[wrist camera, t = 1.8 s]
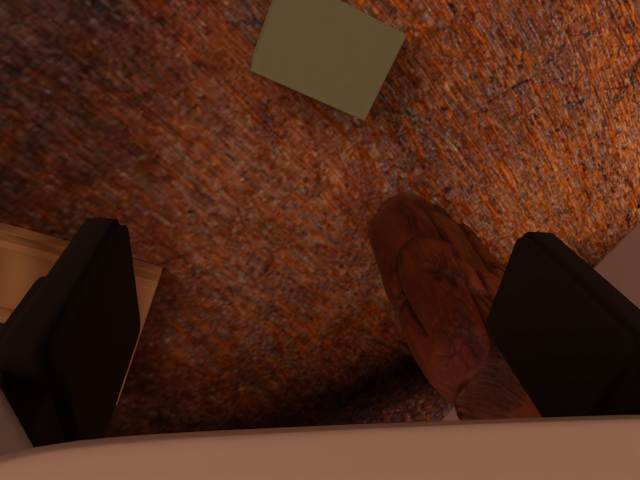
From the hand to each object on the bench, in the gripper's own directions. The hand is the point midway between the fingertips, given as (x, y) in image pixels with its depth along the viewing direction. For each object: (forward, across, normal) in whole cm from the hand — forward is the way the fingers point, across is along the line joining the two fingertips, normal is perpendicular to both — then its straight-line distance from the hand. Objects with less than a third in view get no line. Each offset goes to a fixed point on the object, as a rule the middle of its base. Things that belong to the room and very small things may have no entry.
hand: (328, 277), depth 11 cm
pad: (+20, -2, -3) cm, 21 cm away
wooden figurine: (+21, -12, +11) cm, 26 cm away
